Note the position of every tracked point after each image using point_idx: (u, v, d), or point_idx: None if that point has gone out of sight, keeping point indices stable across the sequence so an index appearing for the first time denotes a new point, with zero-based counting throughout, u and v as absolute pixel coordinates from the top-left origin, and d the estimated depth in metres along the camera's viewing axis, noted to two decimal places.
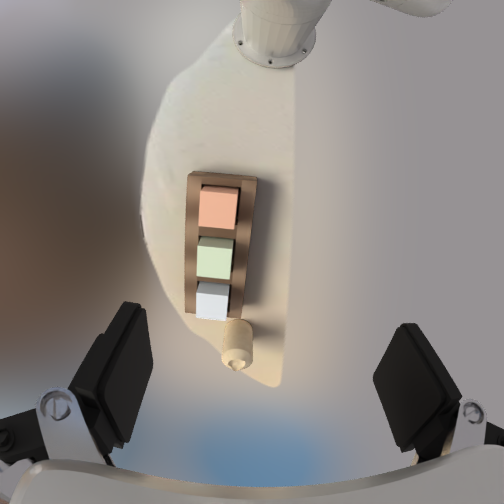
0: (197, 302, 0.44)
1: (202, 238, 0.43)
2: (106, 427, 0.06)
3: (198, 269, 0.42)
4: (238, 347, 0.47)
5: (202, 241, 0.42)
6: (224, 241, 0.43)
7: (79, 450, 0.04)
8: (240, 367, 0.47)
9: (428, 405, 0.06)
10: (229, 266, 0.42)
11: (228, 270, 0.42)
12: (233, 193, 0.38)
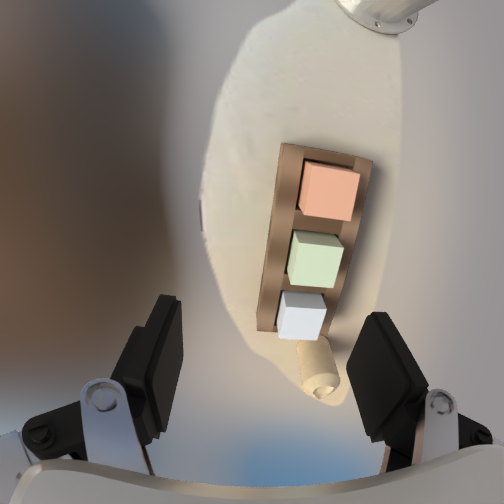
0: (284, 319, 0.33)
1: (297, 233, 0.31)
2: (149, 416, 0.06)
3: (294, 275, 0.30)
4: (326, 370, 0.36)
5: (300, 237, 0.30)
6: (326, 237, 0.31)
7: (120, 444, 0.04)
8: (325, 394, 0.36)
9: (394, 393, 0.07)
10: (336, 270, 0.30)
11: (334, 276, 0.30)
12: (353, 172, 0.26)
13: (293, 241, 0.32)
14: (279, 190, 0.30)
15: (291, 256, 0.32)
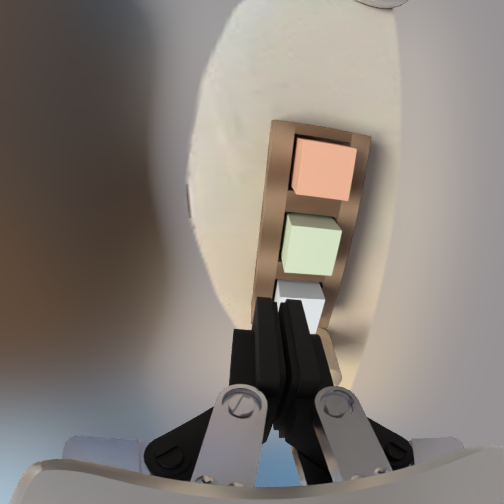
0: None
1: (290, 216, 0.29)
2: None
3: (288, 262, 0.28)
4: None
5: (294, 220, 0.28)
6: (323, 220, 0.29)
7: (240, 453, 0.05)
8: None
9: (287, 385, 0.07)
10: (334, 256, 0.28)
11: (332, 262, 0.28)
12: (349, 147, 0.23)
13: (286, 225, 0.29)
14: (269, 169, 0.27)
15: (285, 241, 0.29)
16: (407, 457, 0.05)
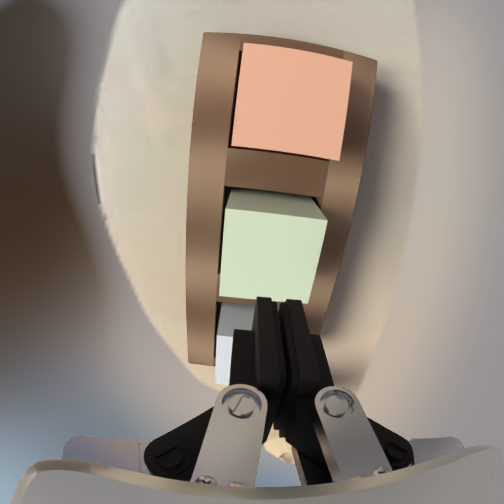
0: (219, 355, 0.18)
1: (234, 194, 0.16)
2: None
3: (225, 278, 0.15)
4: None
5: (237, 200, 0.15)
6: (294, 202, 0.16)
7: (240, 453, 0.05)
8: None
9: (287, 385, 0.07)
10: (313, 269, 0.15)
11: (309, 280, 0.15)
12: None
13: None
14: (195, 112, 0.14)
15: None
16: (407, 457, 0.05)
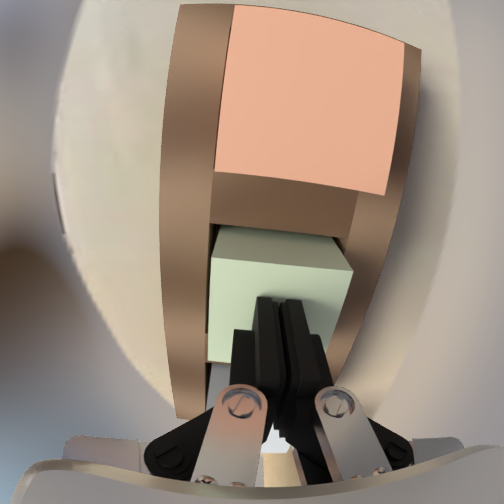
0: None
1: (226, 228, 0.12)
2: None
3: (214, 342, 0.11)
4: None
5: (228, 241, 0.11)
6: (306, 239, 0.12)
7: (240, 453, 0.05)
8: None
9: (287, 385, 0.07)
10: (330, 331, 0.11)
11: (323, 343, 0.11)
12: None
13: None
14: (166, 117, 0.09)
15: None
16: (407, 457, 0.05)
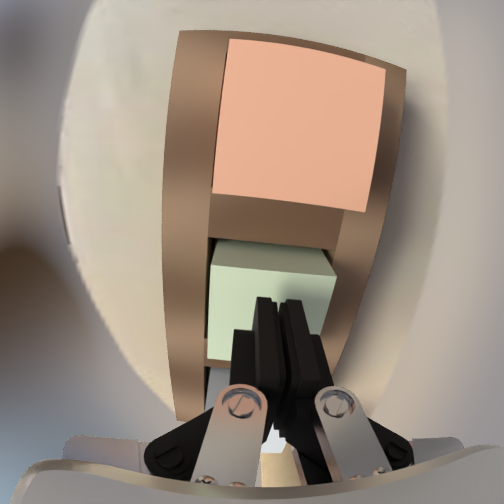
0: None
1: (224, 239, 0.13)
2: None
3: (213, 341, 0.12)
4: None
5: (226, 250, 0.12)
6: (296, 248, 0.13)
7: (240, 453, 0.05)
8: None
9: (287, 385, 0.07)
10: (317, 331, 0.12)
11: None
12: None
13: None
14: (167, 139, 0.11)
15: None
16: (407, 457, 0.05)
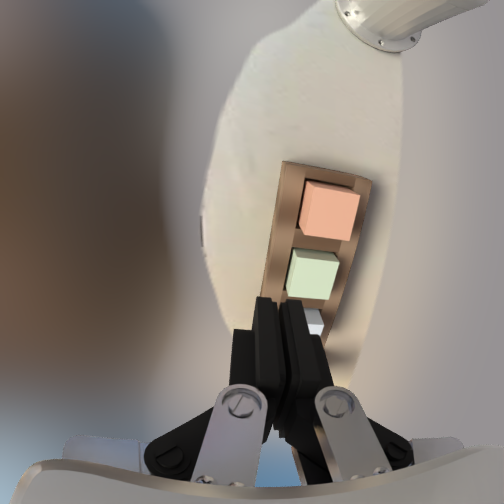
0: None
1: (295, 247, 0.33)
2: None
3: (292, 287, 0.32)
4: None
5: (298, 252, 0.32)
6: (323, 251, 0.33)
7: (240, 453, 0.05)
8: None
9: (287, 385, 0.07)
10: (332, 283, 0.32)
11: (329, 288, 0.32)
12: (353, 193, 0.27)
13: (291, 255, 0.34)
14: (280, 209, 0.30)
15: (289, 269, 0.34)
16: (407, 457, 0.05)
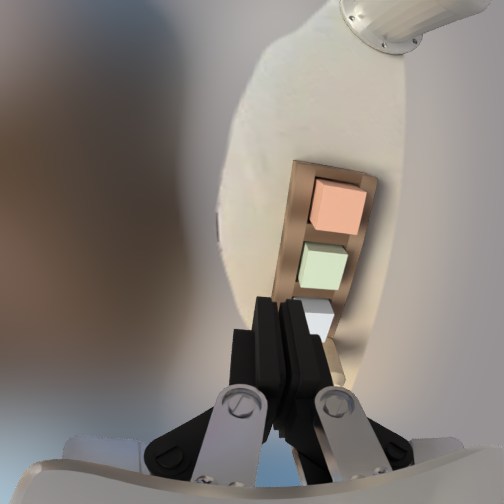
0: None
1: (306, 241, 0.35)
2: None
3: (304, 279, 0.34)
4: (333, 369, 0.38)
5: (310, 245, 0.34)
6: (332, 245, 0.35)
7: (240, 453, 0.05)
8: None
9: (287, 385, 0.07)
10: (341, 274, 0.34)
11: (339, 279, 0.34)
12: (360, 191, 0.29)
13: (303, 248, 0.36)
14: (292, 206, 0.32)
15: (301, 262, 0.36)
16: (407, 457, 0.05)
